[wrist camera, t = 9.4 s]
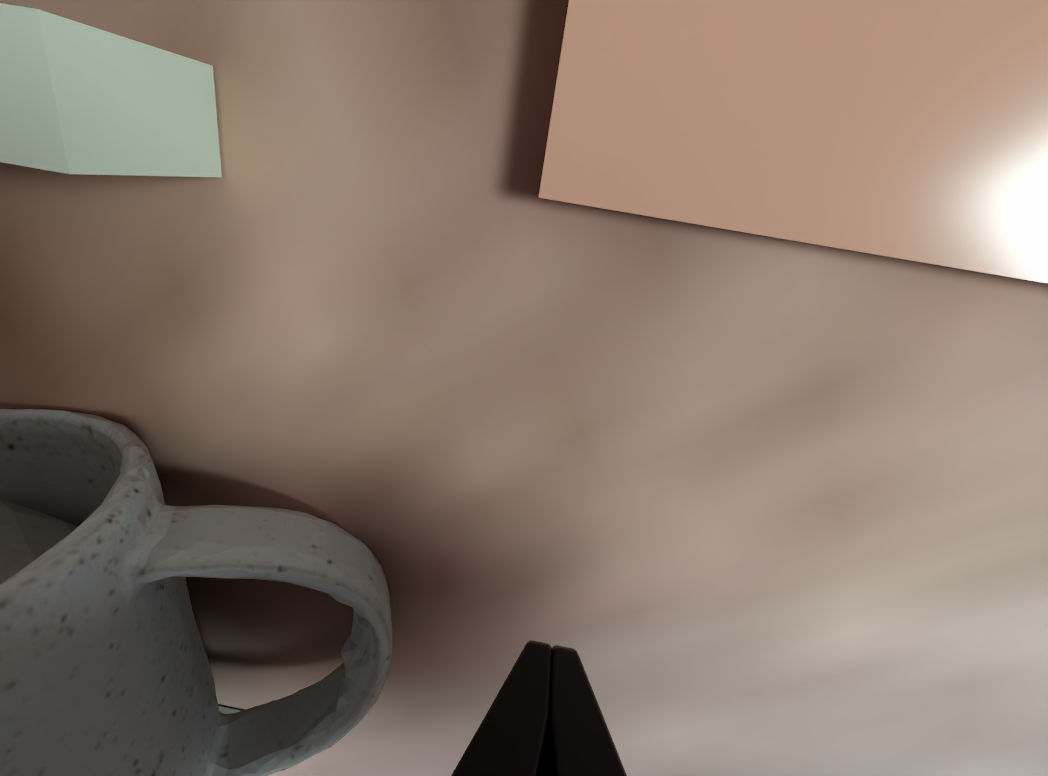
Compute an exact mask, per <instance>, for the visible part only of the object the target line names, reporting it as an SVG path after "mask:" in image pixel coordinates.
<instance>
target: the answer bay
mask: <svg viewBox="0 0 1048 776" xmlns="http://www.w3.org/2000/svg"><path fill="white" fill-rule="evenodd" d="M0 162H2V163H8V164H14V165H20V166H25V167H31V168H37V169H43V170H48V171H54V172H60V173H66V174H86V175H132V176H179V177H222V173H221V161H220V149H219V136H218V124H217V112H216V99H215V87H214V75H213V66H212V65H208V64H205V63H202V62H199V61H196V60H193V59H190V58H187V57H184V56H181V55H178V54H174V53H171V52H168V51H165V50H162V49H159V48H156V47H153V46H150V45H147V44H144V43H141V42H137V41H134V40H131V39H128V38H125V37H122V36H119V35H116V34H113V33H110V32H107V31H103V30H100V29H97V28H94V27H91V26H88V25H85V24H82V23H79V22H76V21H73V20H70V19H66V18H63V17H60V16H57V15H54V14H51V13H48V12H45V11H42V10H39V9H33V8H27V7H21V6H15V5H9V4H2V3H0ZM218 707H219V711H220V712H222V713H224V714H230V713H237V712H240V710H235V709H231V708H226V707H221V706H218Z"/></svg>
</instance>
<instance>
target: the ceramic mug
mask: <svg viewBox="0 0 1048 776" xmlns="http://www.w3.org/2000/svg"><path fill="white" fill-rule="evenodd" d="M185 577H205V578H239V579H262V580H272V581H281V582H288V583H292V584H296V585H300V586H304V587H308V588H311V589H315V590H318V591H322V592H325V593H327V594H329V595H330V596H331V597H332V598H334V599H335V600H336V601H338V602H340V603H343V604H346V605H348V606H351V607H353V609H354V614H353V624H352V630H351V635H350V636H349V638H348V639H347V641H346V642H345V644H344V645H343V647H342V652H341V656H342V658H343V660H344V663H343V664H342V665H341V666H339V667H338V668H337V669H336V670H334V671H333V672H332V673H330V674H329V675H328V676H326V677H325V678H324V679H322V680H321V681H319V682H317V683H315V684H313V685H311V686H309V687H307V688H304V689H302V690H299V691H298V692H296V693H294V694H293V695H290V696H287V697H284V698H282V699H279V700H275V701H271V702H269V703H266V704H263V705H259V706H256V707H253V708H249V709H246V710H243V711H240V712H237V713H230V714H224V713H222V712H220V711H219V707H218V702H217V697H216V692H215V684H214V679H213V675H212V671H211V668H210V664H209V661H208V657H207V654H206V651H205V648H204V645H203V642H202V639H201V636H200V633H199V630H198V627H197V624H196V621H195V617H194V614H193V610H192V607H191V602H190V597H189V593H188V588H187V583H186V578H185ZM391 656H392V622H391V611H390V598H389V590H388V586H387V582H386V578H385V575H384V572H383V569H382V566H381V565H380V564H379V562H378V561H377V559H376V558H375V556H374V555H373V554H372V552H371V551H370V549H369V548H368V547H367V546H366V545H365V544H364V543H363V542H362V541H361V540H359V539H357V538H356V537H354V536H353V535H351V534H350V533H348V532H347V531H345V530H344V529H342V528H340V527H339V526H337V525H335V524H333V523H332V522H330V521H326V520H322V519H319V518H317V517H315V516H312V515H310V514H308V513H305V512H300V511H294V510H288V509H283V508H270V507H253V506H233V505H199V506H167V505H166V504H165V501H164V497H163V492H162V488H161V484H160V481H159V478H158V475H157V472H156V469H155V466H154V463H153V461H152V458H151V456H150V453H149V451H148V448H147V447H146V446H145V444H144V443H143V442H142V441H141V440H140V439H139V438H138V436H137V435H136V434H135V433H133V432H132V431H131V430H130V429H128V428H127V427H126V426H125V425H122V424H119V423H116V422H113V421H111V420H108V419H105V418H103V417H100V416H96V415H91V414H85V413H78V412H71V411H64V410H46V409H0V776H267V775H270V774H272V773H275V772H278V771H282V770H285V769H288V768H290V767H292V766H294V765H296V764H298V763H300V762H302V761H304V760H306V759H307V758H309V757H311V756H313V755H315V754H317V753H319V752H321V751H323V750H325V749H327V748H330V747H331V746H332V745H334V744H335V743H336V742H338V741H339V740H340V739H341V738H342V737H343V736H344V735H346V734H347V733H348V732H349V731H350V730H351V729H352V728H353V727H354V726H355V725H356V724H357V723H358V722H360V720H361V719H362V718H363V717H364V715H365V714H366V713H367V712H368V711H369V709H370V708H371V707H372V706H373V704H374V703H375V702H376V700H377V698H378V696H379V694H380V692H381V689H382V687H383V685H384V683H385V680H386V678H387V676H388V671H389V666H390V661H391Z"/></svg>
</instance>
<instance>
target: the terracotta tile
mask: <svg viewBox="0 0 1048 776" xmlns="http://www.w3.org/2000/svg"><path fill="white" fill-rule="evenodd" d="M539 198H544V199H550V200H556V201H562V202H568V203H574V204H579V205H585V206H591V207H597V208H603V209H609V210H615V211H621V212H627V213H633V214H639V215H645V216H651V217H656V218H662V219H668V220H674V221H680V222H686V223H692V224H698V225H704V226H710V227H716V228H722V229H728V230H733V231H739V232H745V233H751V234H757V235H763V236H769V237H775V238H781V239H787V240H793V241H799V242H805V243H810V244H816V245H822V246H828V247H834V248H840V249H846V250H852V251H858V252H864V253H870V254H876V255H882V256H887V257H893V258H899V259H905V260H911V261H917V262H923V263H929V264H935V265H941V266H947V267H953V268H958V269H964V270H970V271H976V272H982V273H988V274H994V275H1000V276H1006V277H1012V278H1018V279H1024V280H1030V281H1035V282H1041V283H1047V284H1048V0H569V3H568V10H567V16H566V23H565V29H564V36H563V42H562V49H561V55H560V62H559V68H558V75H557V81H556V88H555V94H554V101H553V107H552V114H551V120H550V126H549V133H548V139H547V146H546V152H545V159H544V165H543V172H542V178H541V185H540V191H539Z"/></svg>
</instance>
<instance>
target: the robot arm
mask: <svg viewBox="0 0 1048 776" xmlns="http://www.w3.org/2000/svg"><path fill="white" fill-rule="evenodd" d="M452 776H627V775H626V773H625V770H624V768H623V765H622V763H621V760H620V758H619V755H618V753H617V750H616V748H615V745H614V743H613V740H612V738H611V735H610V733H609V730H608V728H607V725H606V723H605V720H604V718H603V715H602V713H601V710H600V708H599V705H598V703H597V700H596V697H595V695H594V692H593V690H592V687H591V685H590V682H589V680H588V677H587V675H586V672H585V670H584V667H583V665H582V662H581V660H580V657H579V655H578V653H577V651H576V650H575V649H572V648H567V647H562V646H557V645H556V646H553V647H552V648H551V646H550V645H549V644H547V643H542V642H537V641H529V642H527V644H526V645H525V647H524V649H523V650H522V652H521V654H520V656H519V657H518V659H517V661H516V663H515V665H514V666H513V668H512V670H511V672H510V673H509V675H508V677H507V679H506V680H505V682H504V684H503V686H502V687H501V689H500V691H499V693H498V694H497V696H496V698H495V700H494V702H493V703H492V705H491V707H490V709H489V710H488V712H487V714H486V716H485V717H484V719H483V721H482V723H481V724H480V726H479V728H478V730H477V732H476V733H475V735H474V737H473V739H472V740H471V742H470V744H469V746H468V747H467V749H466V751H465V753H464V754H463V756H462V758H461V760H460V761H459V763H458V765H457V767H456V769H455V770H454V772H453V774H452Z"/></svg>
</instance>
